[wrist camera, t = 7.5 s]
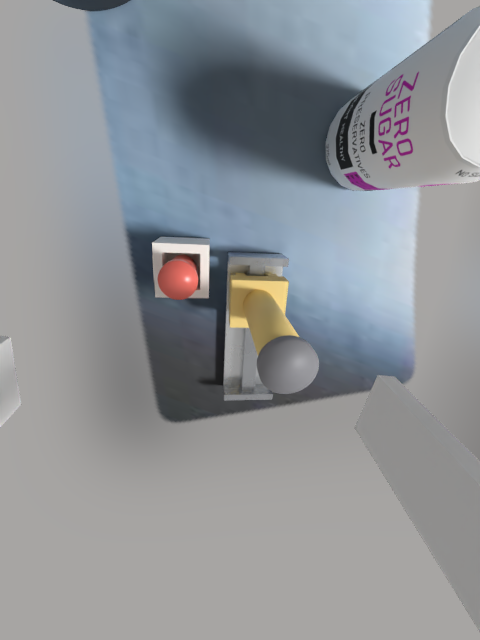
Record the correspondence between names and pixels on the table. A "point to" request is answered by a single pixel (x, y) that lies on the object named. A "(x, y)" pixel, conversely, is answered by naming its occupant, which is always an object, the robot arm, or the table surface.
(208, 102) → the table surface
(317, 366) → the sliding lever handle
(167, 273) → the button
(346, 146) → the supplement can
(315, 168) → the table surface
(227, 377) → the rail
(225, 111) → the table surface
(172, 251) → the white button housing
